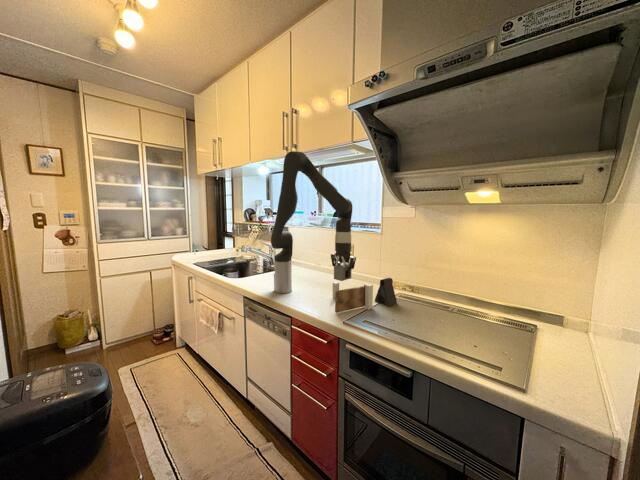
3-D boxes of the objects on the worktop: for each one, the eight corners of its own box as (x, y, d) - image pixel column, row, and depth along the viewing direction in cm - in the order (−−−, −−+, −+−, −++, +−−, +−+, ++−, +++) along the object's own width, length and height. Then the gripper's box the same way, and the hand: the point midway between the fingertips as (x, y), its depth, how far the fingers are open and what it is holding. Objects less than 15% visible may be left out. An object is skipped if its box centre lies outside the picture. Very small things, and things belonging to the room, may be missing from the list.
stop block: (333, 279, 122) (333, 266, 121) (343, 276, 127) (343, 264, 126) (341, 281, 118) (342, 268, 118) (351, 278, 123) (351, 265, 122)
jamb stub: (332, 297, 132) (332, 282, 131) (335, 296, 134) (335, 281, 133) (336, 298, 131) (336, 283, 130) (339, 297, 132) (339, 282, 131)
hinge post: (364, 308, 118) (365, 285, 117) (368, 306, 120) (369, 283, 119) (368, 309, 117) (369, 286, 115) (372, 307, 119) (372, 284, 117)
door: (338, 314, 110) (338, 291, 109) (335, 312, 113) (335, 289, 111) (368, 306, 119) (368, 285, 117) (364, 305, 121) (365, 284, 120)
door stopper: (374, 301, 127) (375, 277, 126) (382, 298, 131) (383, 275, 130) (389, 306, 120) (390, 281, 119) (397, 304, 124) (398, 279, 122)
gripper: (326, 240, 123) (326, 275, 125) (350, 243, 113) (349, 281, 115) (336, 239, 128) (336, 272, 130) (360, 241, 118) (359, 278, 120)
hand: (342, 276), depth 122 cm, fingers closed on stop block, 5 cm apart
